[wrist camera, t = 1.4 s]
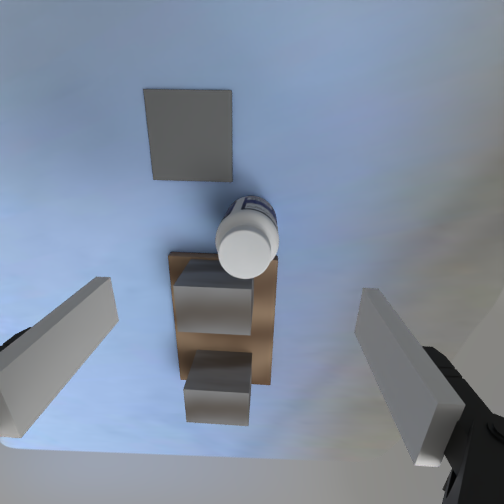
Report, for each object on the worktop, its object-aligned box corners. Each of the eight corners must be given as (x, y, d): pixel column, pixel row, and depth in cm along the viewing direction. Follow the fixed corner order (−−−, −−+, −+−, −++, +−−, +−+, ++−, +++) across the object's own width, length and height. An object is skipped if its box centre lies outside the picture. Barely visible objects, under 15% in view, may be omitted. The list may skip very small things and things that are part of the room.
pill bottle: (238, 251, 31) (226, 296, 22) (217, 207, 29) (195, 237, 20) (284, 233, 30) (291, 273, 21) (265, 186, 28) (263, 208, 19)
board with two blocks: (171, 251, 31) (145, 282, 25) (277, 256, 31) (280, 288, 24) (183, 372, 38) (165, 422, 31) (270, 377, 38) (270, 429, 31)
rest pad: (145, 89, 25) (143, 89, 25) (232, 91, 25) (231, 90, 25) (154, 179, 28) (153, 179, 28) (232, 181, 28) (232, 182, 28)
